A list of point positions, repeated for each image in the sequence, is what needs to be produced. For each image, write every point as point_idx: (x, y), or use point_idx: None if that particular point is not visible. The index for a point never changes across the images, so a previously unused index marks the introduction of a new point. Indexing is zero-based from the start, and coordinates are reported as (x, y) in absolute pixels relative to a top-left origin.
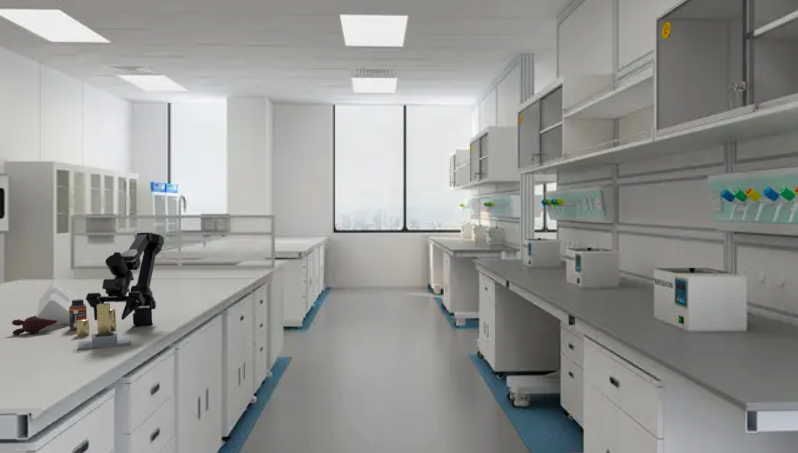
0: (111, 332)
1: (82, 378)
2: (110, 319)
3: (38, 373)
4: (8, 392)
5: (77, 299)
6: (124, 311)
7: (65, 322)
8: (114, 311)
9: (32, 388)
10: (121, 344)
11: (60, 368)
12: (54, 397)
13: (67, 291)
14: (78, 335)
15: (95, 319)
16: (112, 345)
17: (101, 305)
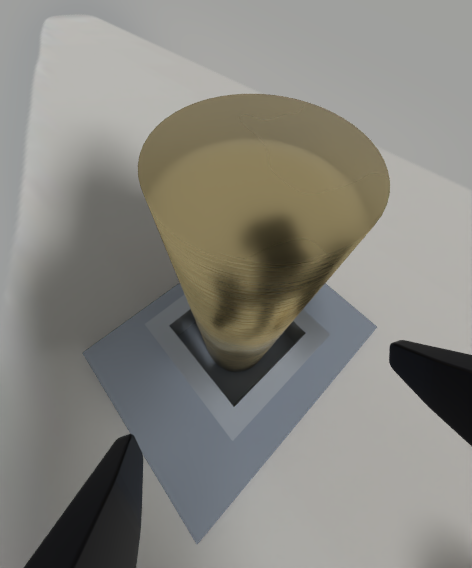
0: (245, 400)
1: (54, 78)
2: (198, 324)
3: (173, 88)
4: (141, 39)
5: None
6: (58, 543)
7: None
8: None
9: (115, 48)
10: (125, 324)
11: (152, 109)
12: (50, 33)
13: None
14: None
15: (391, 348)
16: (158, 299)
17: (214, 101)
